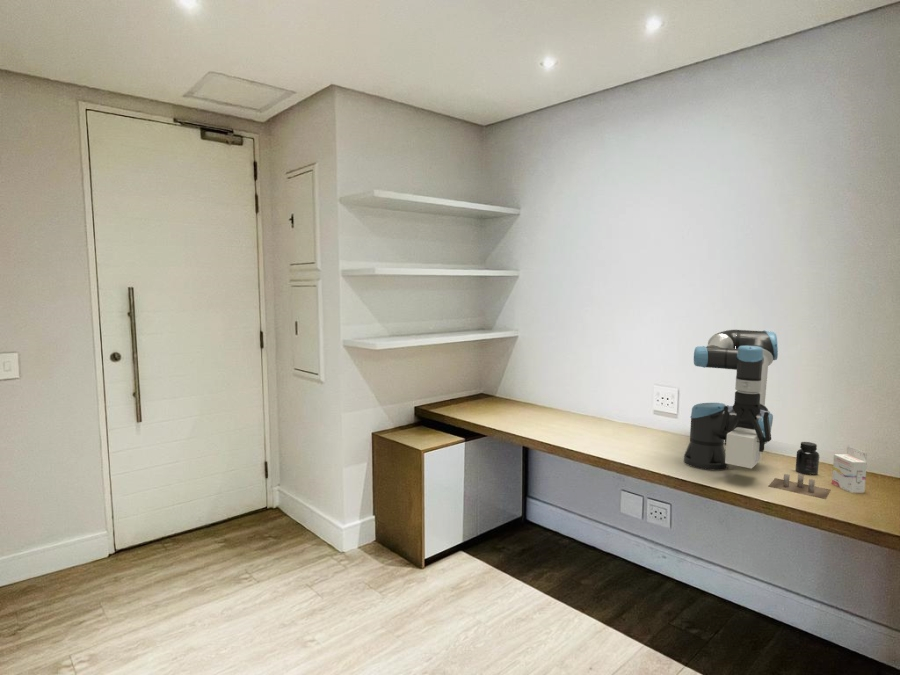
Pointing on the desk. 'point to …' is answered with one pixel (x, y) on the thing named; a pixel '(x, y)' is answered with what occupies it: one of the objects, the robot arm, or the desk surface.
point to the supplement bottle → (807, 459)
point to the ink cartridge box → (850, 470)
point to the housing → (741, 447)
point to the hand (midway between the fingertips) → (743, 457)
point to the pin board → (799, 490)
